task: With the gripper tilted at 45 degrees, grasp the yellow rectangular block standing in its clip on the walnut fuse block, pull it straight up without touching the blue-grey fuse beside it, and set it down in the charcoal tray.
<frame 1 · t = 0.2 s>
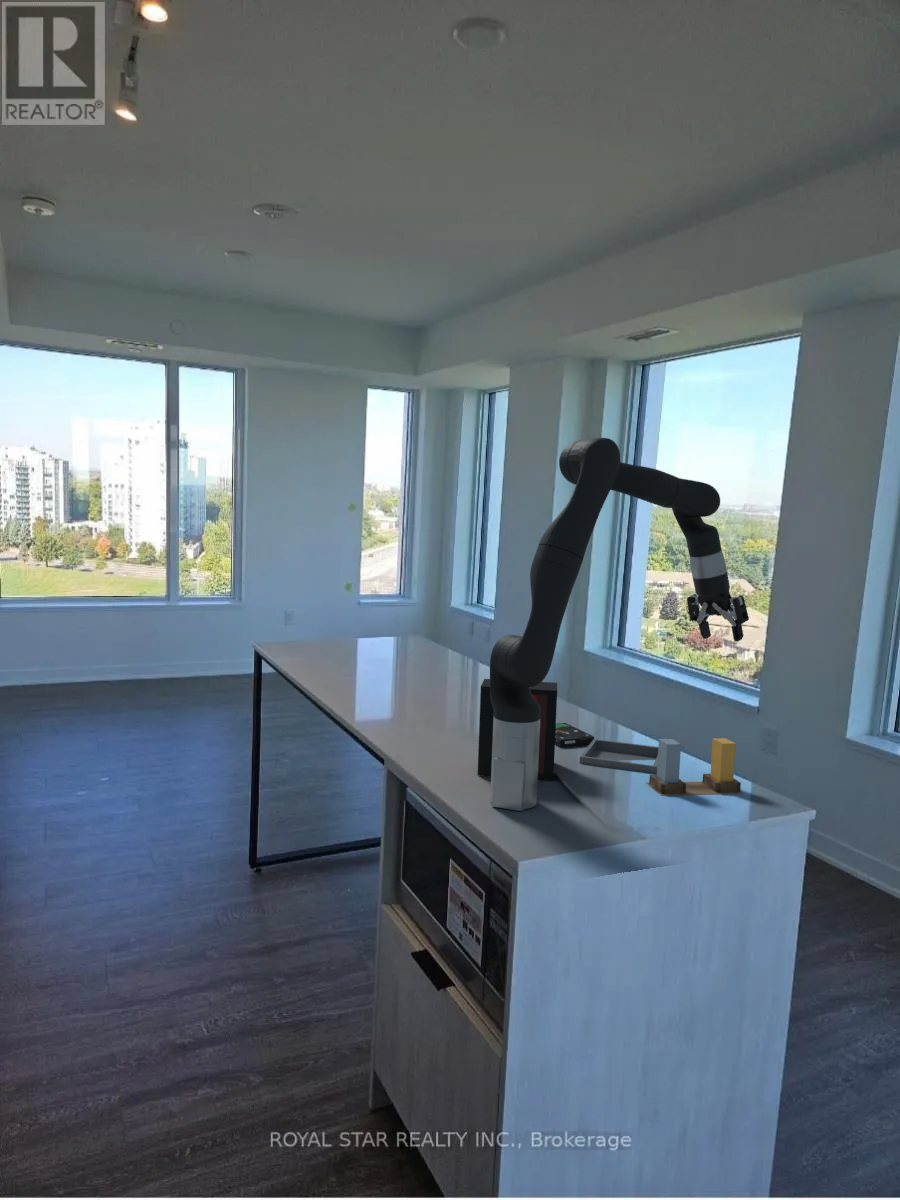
hand: (722, 639, 179), 31 cm above the worktop, tool tilted 20°, fingers open, 8 cm apart
tray: (622, 764, 183), on the worktop
fuse block: (693, 795, 163), on the worktop
disk drive: (562, 741, 204), on the worktop
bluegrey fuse: (667, 788, 161), point 1 cm above the worktop, touching fuse block
yellow rectangular block: (721, 787, 163), point 1 cm above the worktop, touching fuse block
cleaning product box: (516, 773, 174), on the worktop
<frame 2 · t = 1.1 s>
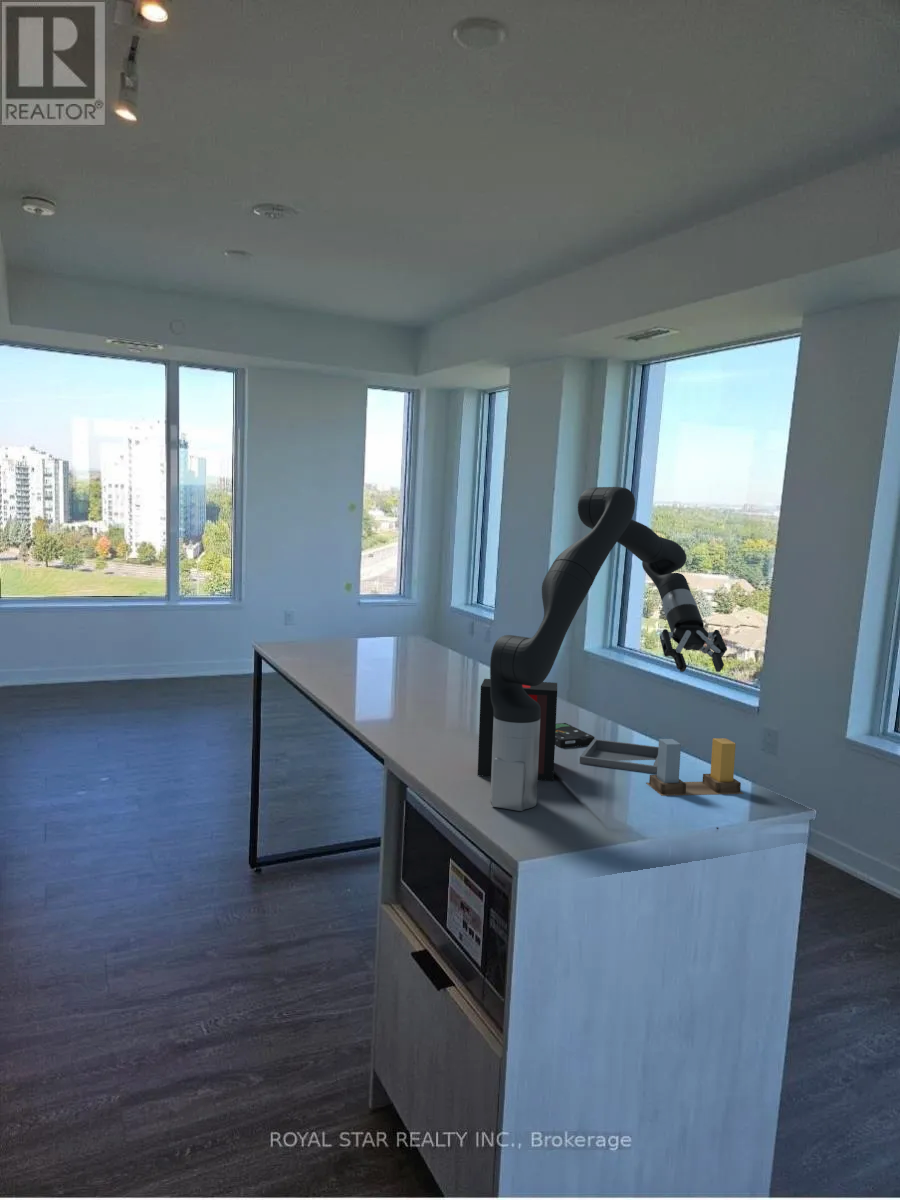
hand: (702, 669, 173), 24 cm above the worktop, tool tilted 45°, fingers open, 8 cm apart
nothing on the worktop moved.
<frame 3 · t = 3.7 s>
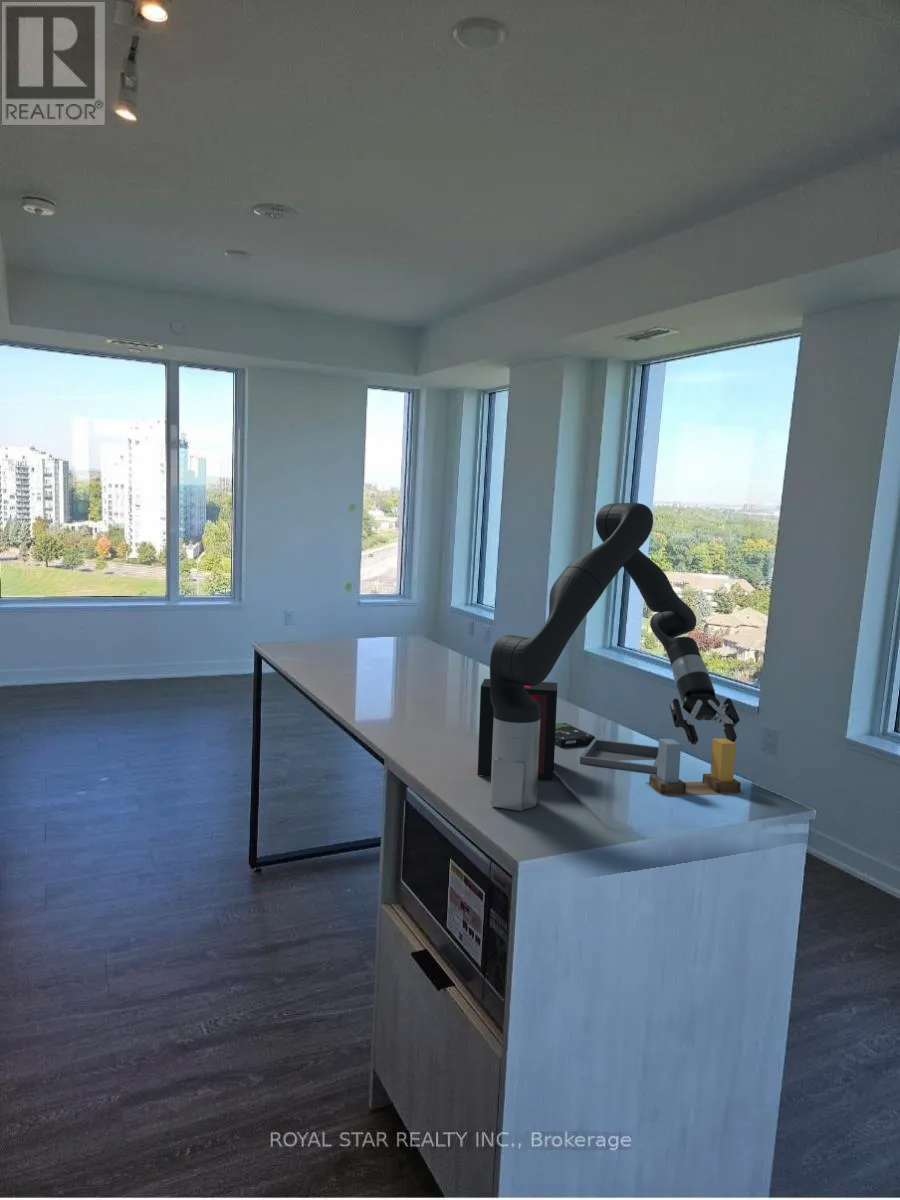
hand: (714, 742, 167), 10 cm above the worktop, tool tilted 45°, fingers open, 8 cm apart
nothing on the worktop moved.
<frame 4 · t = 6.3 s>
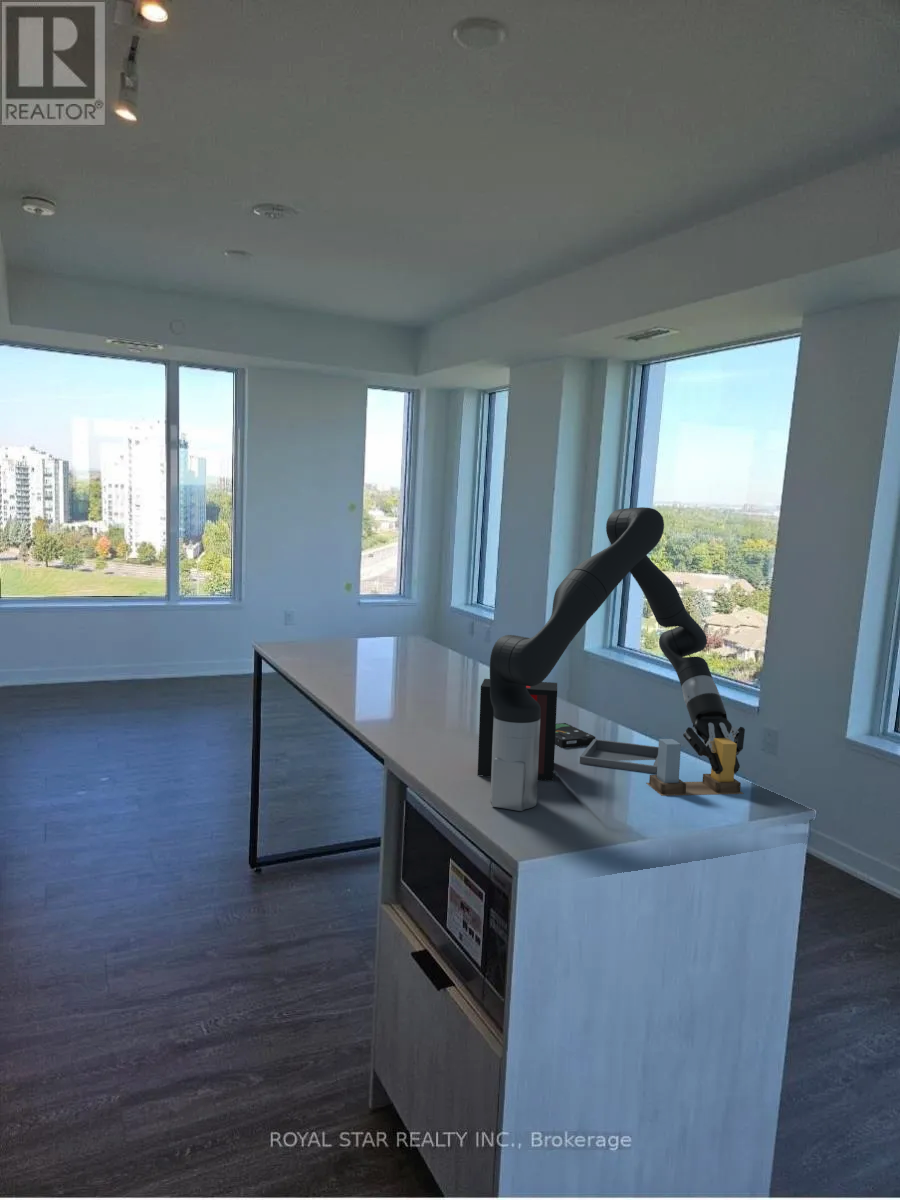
hand: (727, 771, 161), 6 cm above the worktop, tool tilted 45°, fingers closed on yellow rectangular block, 3 cm apart
yellow rectangular block: (721, 787, 163), point 2 cm above the worktop, touching gripper
everything else where it was.
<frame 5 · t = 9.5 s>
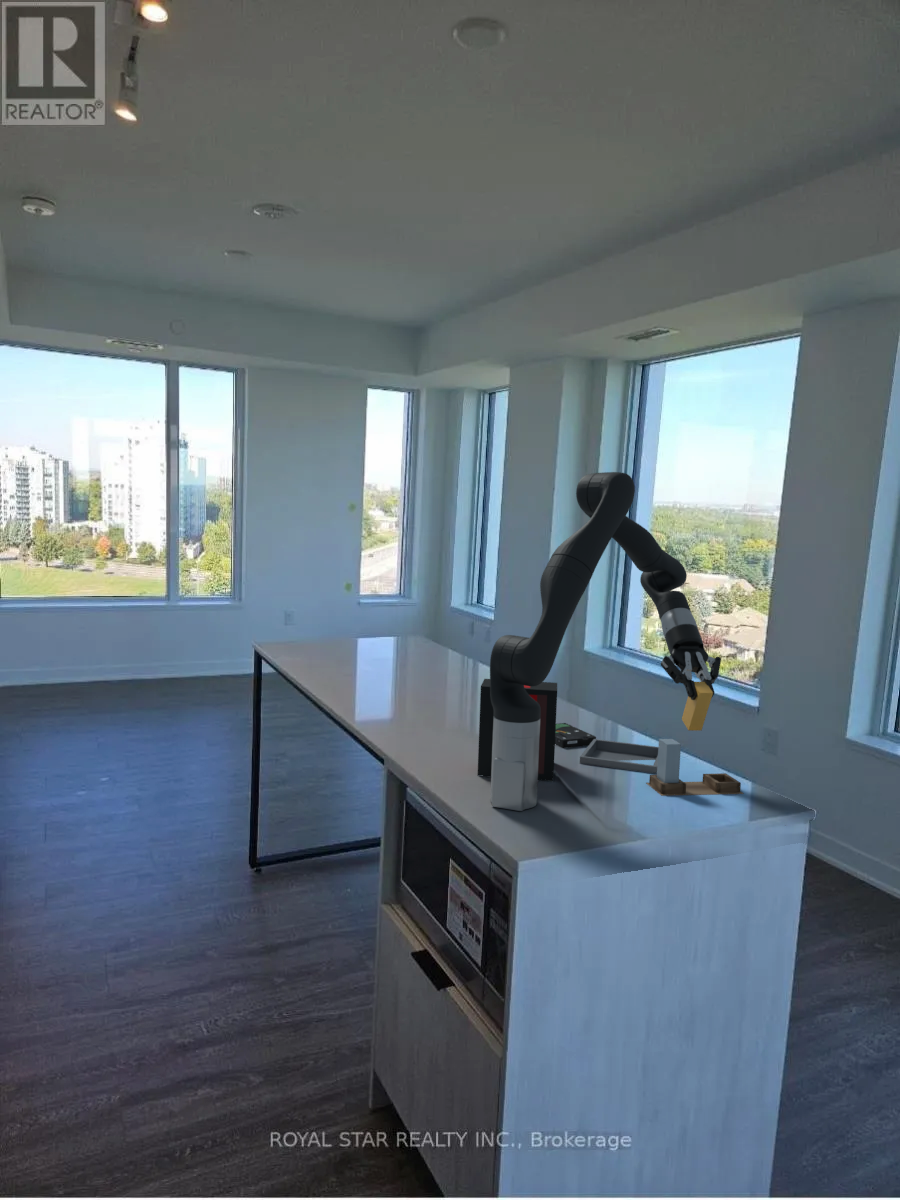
hand: (702, 697, 164), 20 cm above the worktop, tool tilted 45°, fingers closed on yellow rectangular block, 2 cm apart
yellow rectangular block: (691, 724, 169), point 13 cm above the worktop, tilted 24°, touching gripper
everything else where it was.
when the fingers open (10 cm above the worktop, at t = 12.8 s): yellow rectangular block stays where it is and tips over, resting on tray.
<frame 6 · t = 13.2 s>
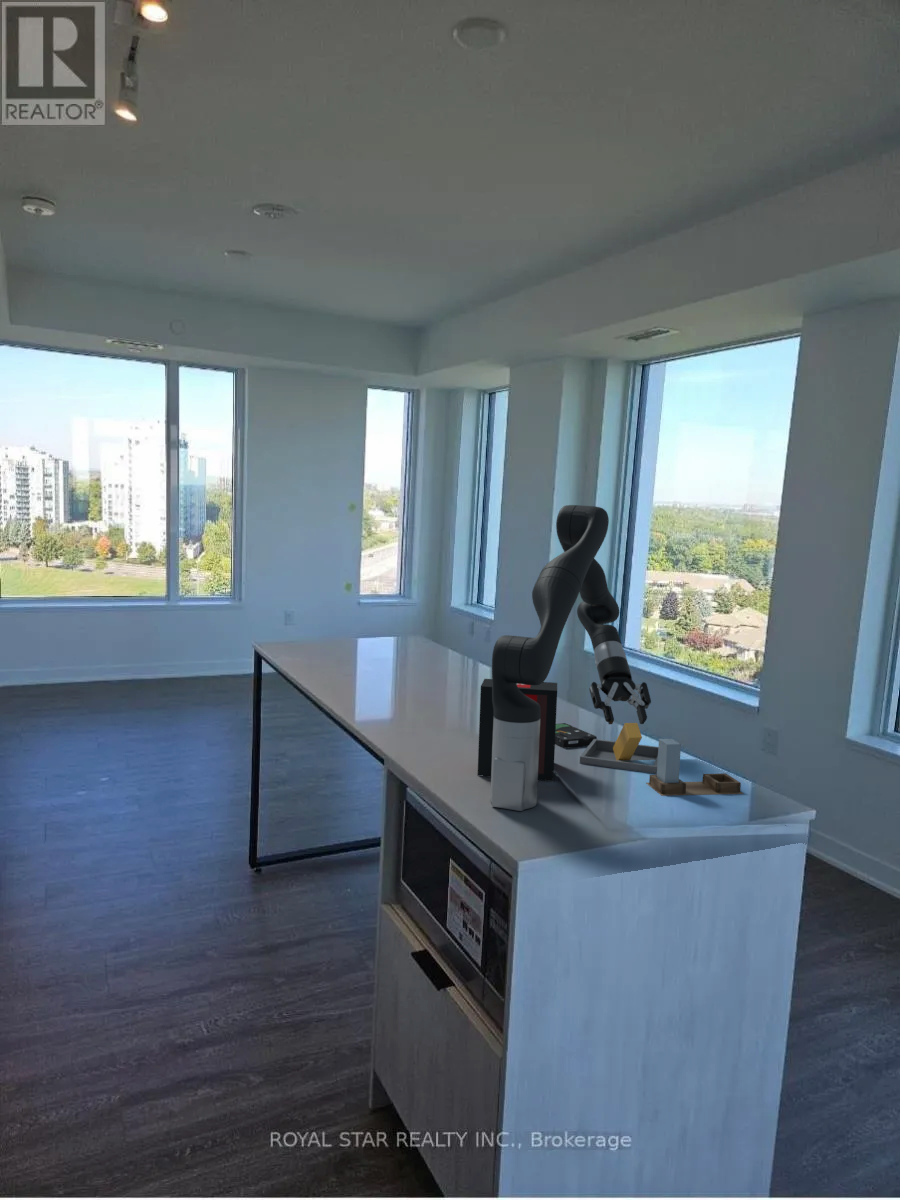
hand: (627, 722, 180), 10 cm above the worktop, tool tilted 45°, fingers open, 7 cm apart
yellow rectangular block: (620, 754, 184), point 2 cm above the worktop, tilted 40°, touching tray
everything else where it was.
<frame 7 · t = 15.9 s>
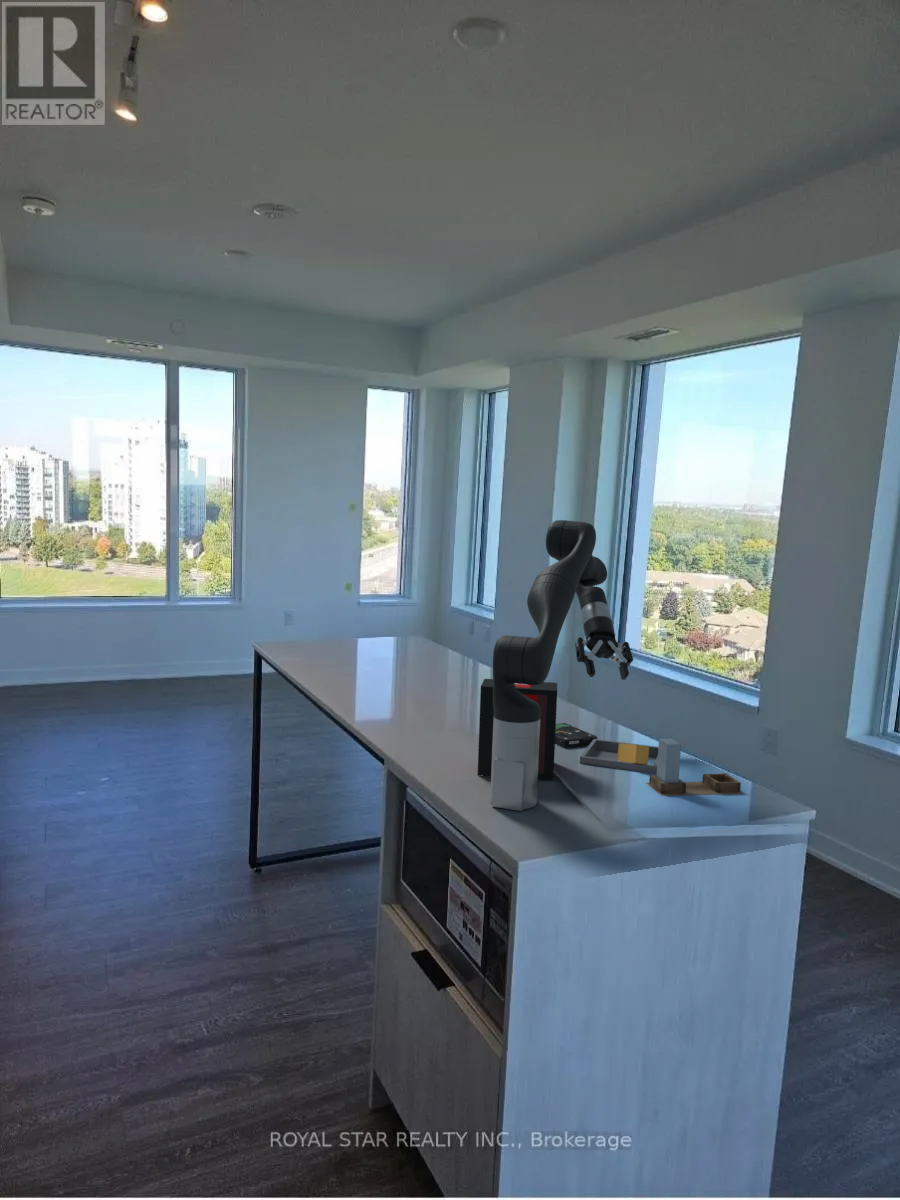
hand: (608, 676, 192), 19 cm above the worktop, tool tilted 45°, fingers open, 8 cm apart
yellow rectangular block: (624, 752, 183), point 3 cm above the worktop, tilted 76°, touching tray
everything else where it was.
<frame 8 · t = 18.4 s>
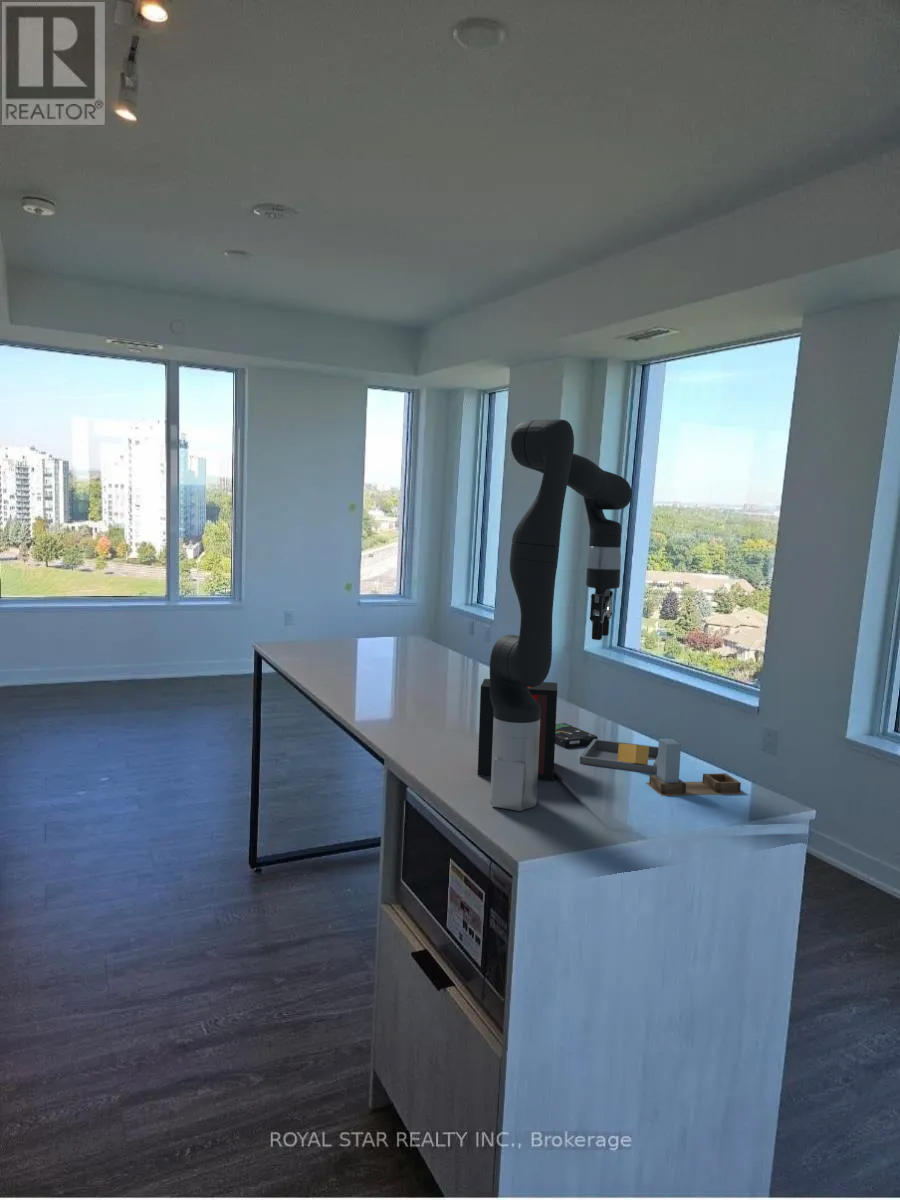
hand: (600, 637, 178), 30 cm above the worktop, tool pointing down, fingers open, 8 cm apart
nothing on the worktop moved.
at the end: yellow rectangular block inside the target area on the tray (0.6 cm from its centre), point 2.7 cm above the tray's base; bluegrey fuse moved 0.0 cm from its start; the gripper is holding nothing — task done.
